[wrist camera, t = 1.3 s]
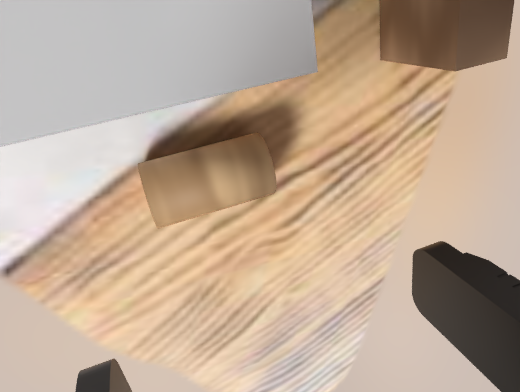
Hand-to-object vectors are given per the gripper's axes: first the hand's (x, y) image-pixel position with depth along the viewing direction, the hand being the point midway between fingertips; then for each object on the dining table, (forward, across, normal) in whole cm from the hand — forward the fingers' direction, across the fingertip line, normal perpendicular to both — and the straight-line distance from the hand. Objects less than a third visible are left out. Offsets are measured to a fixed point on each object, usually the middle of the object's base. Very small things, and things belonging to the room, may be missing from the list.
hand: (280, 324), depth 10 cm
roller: (+11, 0, 0) cm, 11 cm away
